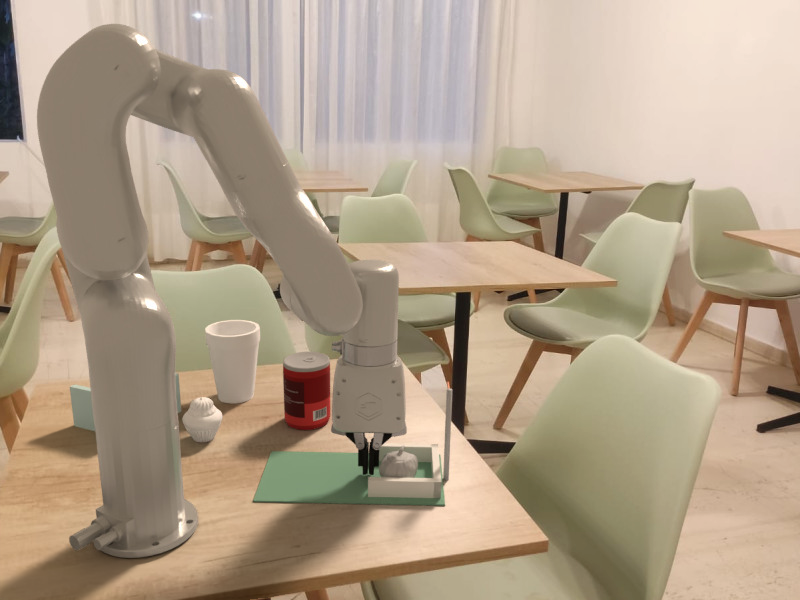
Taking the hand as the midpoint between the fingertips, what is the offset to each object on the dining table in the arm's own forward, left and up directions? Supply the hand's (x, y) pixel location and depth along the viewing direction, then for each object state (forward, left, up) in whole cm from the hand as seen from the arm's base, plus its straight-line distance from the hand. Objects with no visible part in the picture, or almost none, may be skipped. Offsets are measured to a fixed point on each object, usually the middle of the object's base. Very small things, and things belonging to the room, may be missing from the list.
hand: (368, 470), depth 106 cm
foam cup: (+11, +36, -2) cm, 38 cm away
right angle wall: (-5, +45, -2) cm, 45 cm away
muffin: (-4, +29, -2) cm, 29 cm away
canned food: (+10, +19, -2) cm, 22 cm away
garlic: (+1, -5, -1) cm, 5 cm away
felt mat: (-1, +2, -1) cm, 3 cm away
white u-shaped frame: (+3, -5, -1) cm, 6 cm away
